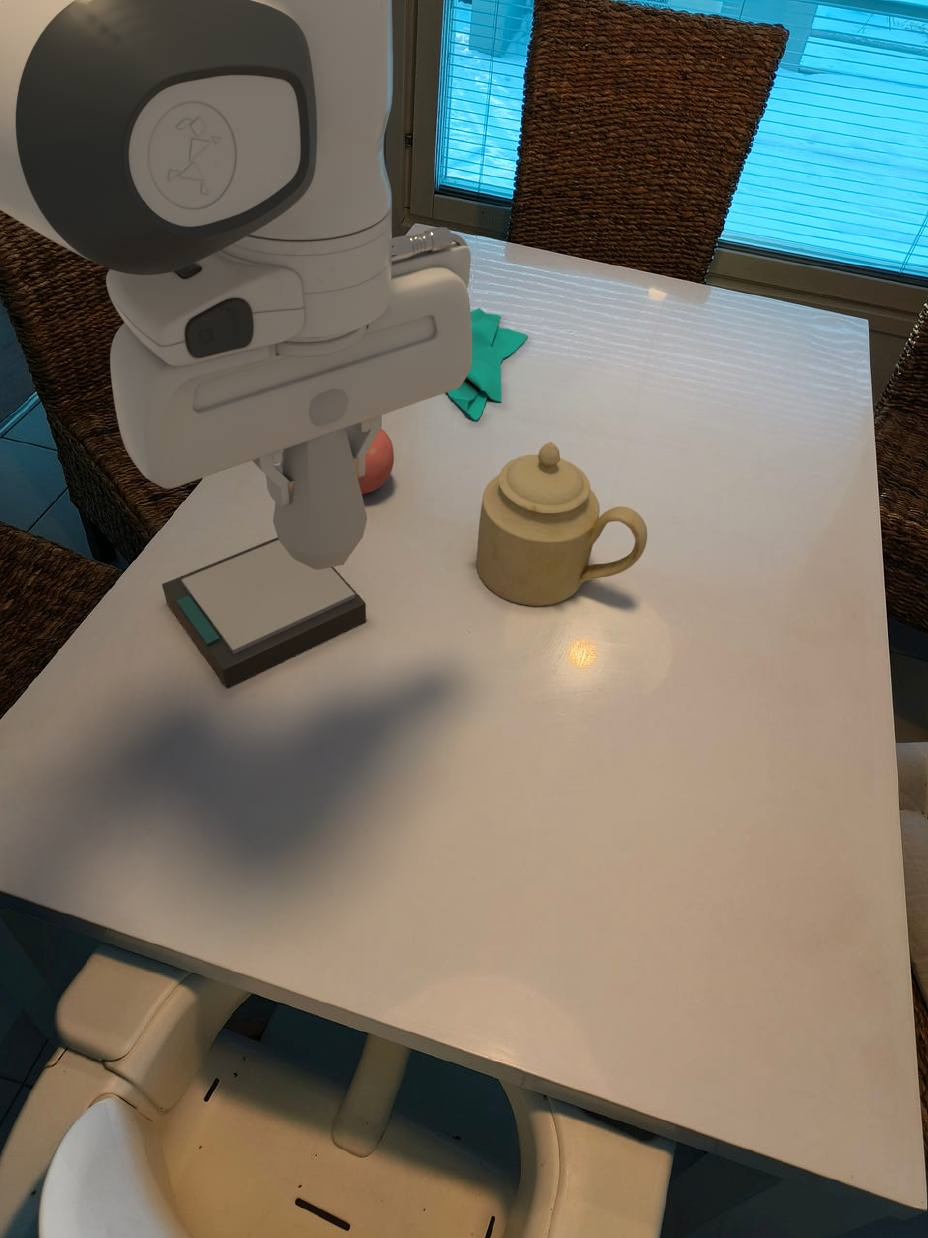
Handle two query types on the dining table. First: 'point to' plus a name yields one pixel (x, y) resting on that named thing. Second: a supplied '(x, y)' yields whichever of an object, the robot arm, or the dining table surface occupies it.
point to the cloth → (485, 362)
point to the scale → (261, 609)
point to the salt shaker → (322, 492)
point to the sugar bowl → (545, 530)
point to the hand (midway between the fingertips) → (317, 486)
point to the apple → (377, 463)
